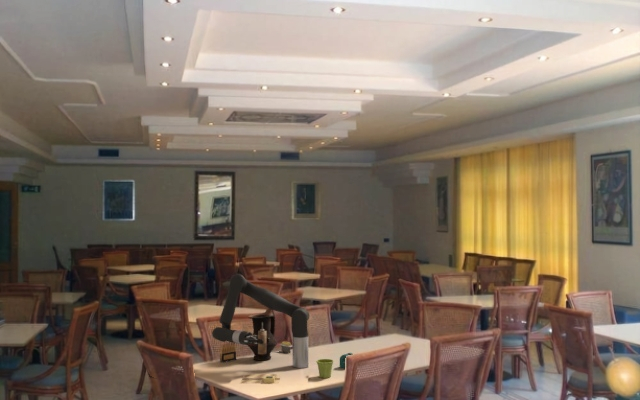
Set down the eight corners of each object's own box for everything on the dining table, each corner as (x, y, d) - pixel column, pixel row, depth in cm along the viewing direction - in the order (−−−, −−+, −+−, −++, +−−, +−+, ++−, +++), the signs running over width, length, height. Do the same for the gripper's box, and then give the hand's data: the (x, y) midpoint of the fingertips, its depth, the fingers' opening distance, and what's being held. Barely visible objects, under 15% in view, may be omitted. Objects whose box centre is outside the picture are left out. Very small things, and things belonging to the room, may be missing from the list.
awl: (266, 352, 355) (266, 321, 355) (266, 354, 350) (266, 323, 350) (258, 352, 355) (258, 321, 355) (257, 354, 350) (257, 323, 350)
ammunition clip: (221, 362, 382) (221, 342, 382) (219, 362, 383) (219, 341, 383) (236, 359, 389) (236, 339, 389) (234, 359, 390) (234, 339, 391)
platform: (283, 349, 421) (283, 339, 421) (303, 353, 408) (303, 342, 408) (270, 352, 412) (270, 341, 412) (289, 356, 400) (289, 345, 400)
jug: (265, 364, 378) (265, 312, 378) (240, 360, 387) (240, 310, 388) (285, 357, 395) (285, 308, 396) (261, 353, 405) (261, 306, 406)
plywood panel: (280, 376, 349) (280, 374, 349) (278, 385, 331) (278, 383, 331) (244, 376, 349) (244, 374, 349) (240, 385, 331) (240, 383, 331)
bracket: (339, 367, 369) (339, 354, 369) (346, 365, 374) (346, 352, 374) (366, 372, 358) (366, 358, 359) (372, 369, 364) (372, 356, 364)
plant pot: (319, 379, 342) (319, 363, 342) (314, 375, 351) (314, 359, 352) (335, 378, 345) (335, 362, 345) (330, 374, 354) (330, 358, 354)
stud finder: (274, 379, 338) (274, 375, 338) (274, 382, 332) (274, 378, 332) (265, 379, 338) (265, 375, 338) (264, 382, 332) (264, 378, 332)
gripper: (233, 332, 355) (257, 336, 345) (250, 328, 367) (274, 332, 357) (233, 346, 355) (257, 350, 345) (250, 342, 366) (274, 345, 357)
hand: (266, 341), depth 351 cm, fingers closed on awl, 4 cm apart
